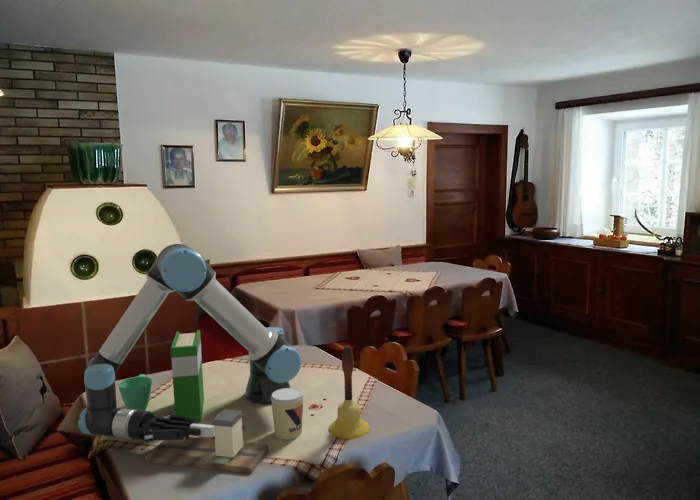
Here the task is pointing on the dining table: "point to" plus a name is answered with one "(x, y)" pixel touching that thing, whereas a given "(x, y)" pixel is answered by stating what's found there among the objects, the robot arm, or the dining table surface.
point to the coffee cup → (287, 412)
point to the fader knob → (228, 433)
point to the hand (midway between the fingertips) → (213, 431)
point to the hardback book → (187, 375)
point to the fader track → (206, 455)
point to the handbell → (348, 406)
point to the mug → (136, 392)
